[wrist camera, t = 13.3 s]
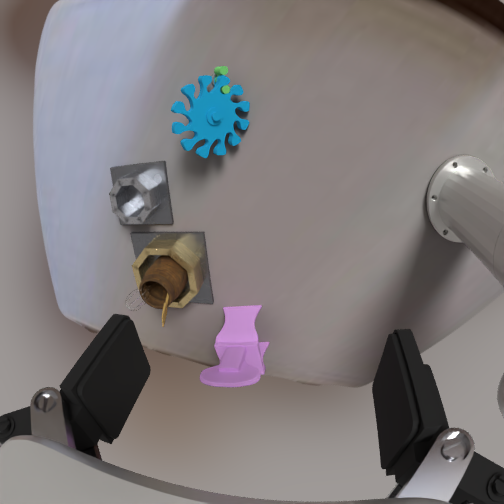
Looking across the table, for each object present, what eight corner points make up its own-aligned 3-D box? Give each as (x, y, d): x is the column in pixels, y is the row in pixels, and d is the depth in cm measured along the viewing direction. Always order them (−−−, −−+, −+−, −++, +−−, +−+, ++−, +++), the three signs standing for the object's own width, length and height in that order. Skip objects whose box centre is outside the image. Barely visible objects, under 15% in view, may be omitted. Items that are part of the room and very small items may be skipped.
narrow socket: (165, 160, 38) (153, 165, 35) (173, 222, 42) (163, 231, 39) (112, 167, 40) (98, 172, 37) (122, 223, 44) (110, 232, 41)
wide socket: (204, 231, 42) (196, 242, 39) (213, 301, 48) (207, 315, 44) (132, 232, 44) (120, 241, 41) (147, 296, 50) (138, 308, 46)
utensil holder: (154, 248, 44) (115, 292, 34) (193, 255, 44) (161, 303, 33) (156, 281, 47) (122, 328, 36) (193, 288, 46) (164, 340, 36)
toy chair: (229, 346, 52) (208, 414, 39) (217, 307, 48) (189, 376, 35) (275, 345, 50) (265, 417, 37) (267, 304, 46) (253, 378, 33)
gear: (240, 165, 36) (165, 152, 29) (215, 156, 40) (148, 144, 33) (265, 81, 32) (193, 53, 25) (237, 81, 36) (172, 59, 29)
